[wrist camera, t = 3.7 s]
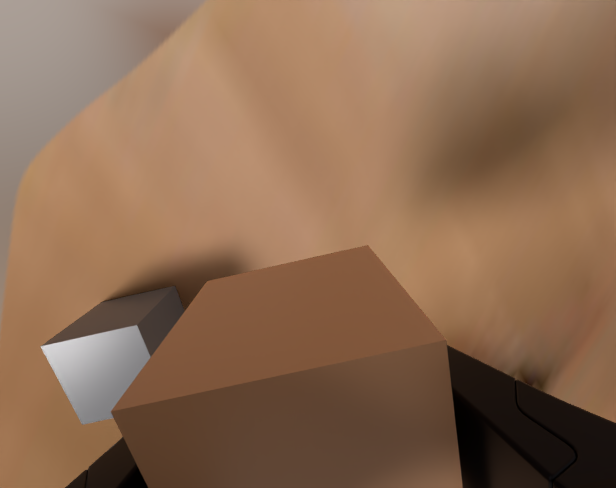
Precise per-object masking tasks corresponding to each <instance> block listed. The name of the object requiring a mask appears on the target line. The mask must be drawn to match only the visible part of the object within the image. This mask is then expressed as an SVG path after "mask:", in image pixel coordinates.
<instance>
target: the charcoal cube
mask: <svg viewBox="0 0 616 488" xmlns="http://www.w3.org/2000/svg"><path fill="white" fill-rule="evenodd" d="M184 312H185V311H184V308H183V306H182V303H181V300H180V298H179V295H178V292H177V290H176V287H175V286H171V287H167V288H162V289H158V290H154V291H149V292H145V293H140V294H136V295H131V296H127V297H122V298H118V299H114V300H109V301H105V302H101V303H100V304H98V305H97V306H96V307H94V308H93V309H91V310H90V311H89V312H87V313H86V314H85V315H83V316H82V317H80V318H79V319H78V320H76V321H75V322H74V323H72V324H71V325H69V326H68V327H67V328H65V329H64V330H63V331H61V332H60V333H58V334H57V335H56V336H54V337H53V338H52V339H50V340H49V341H47V342H46V343H45V344H43V345H42V346H41V348H42V350H43V352H44V354H45V356H46V357H47V359H48V361H49V363H50V365H51V367H52V369H53V371H54V372H55V374H56V376H57V378H58V380H59V382H60V384H61V386H62V387H63V389H64V391H65V393H66V395H67V397H68V399H69V401H70V402H71V404H72V406H73V408H74V410H75V412H76V414H77V416H78V418H79V419H80V421H81V423H82V425H83V424H87V423H92V422H97V421H101V420H106V419H110V418H114V417H113V415H112V413H111V410H112V409H113V408H114V406H115V405H116V404H117V402H118V401H119V400H120V398H121V397H122V395H123V394H124V393H125V391H126V390H127V389H128V387H129V386H130V385H131V383H132V382H133V381H134V379H135V378H136V377H137V375H138V374H139V373H140V371H141V370H142V368H143V367H144V366H145V364H146V363H147V362H148V360H149V359H150V358H151V356H152V355H153V354H154V352H155V351H156V350H157V348H158V347H159V345H160V344H161V343H162V341H163V340H164V339H165V337H166V336H167V335H168V333H169V332H170V331H171V329H172V328H173V327H174V325H175V324H176V323H177V321H178V320H179V318H180V317H181V316H182V314H183V313H184Z"/></svg>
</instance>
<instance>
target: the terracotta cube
mask: <svg viewBox="0 0 616 488" xmlns="http://www.w3.org/2000/svg"><path fill="white" fill-rule="evenodd" d="M111 413H112V415H113V417H114V419H115V421H116V423H117V425H118V428H119V430H120V432H121V434H122V436H123V438H124V440H125V442H126V444H127V446H128V448H129V450H130V452H131V454H132V456H133V458H134V460H135V462H136V464H137V466H138V468H139V470H140V472H141V474H142V476H143V478H144V480H145V482H146V484H147V486H148V488H463V485H462V476H461V467H460V458H459V449H458V440H457V432H456V423H455V414H454V405H453V396H452V387H451V378H450V369H449V360H448V351H447V342H446V339H445V338H444V337H443V335H442V334H441V333H440V332H439V331H438V329H437V328H436V327H435V326H434V325H433V323H432V322H431V321H430V320H429V318H428V317H427V316H426V315H425V314H424V312H423V311H422V310H421V309H420V308H419V306H418V305H417V304H416V303H415V302H414V300H413V299H412V298H411V297H410V296H409V294H408V293H407V292H406V291H405V290H404V288H403V287H402V286H401V285H400V283H399V282H398V281H397V280H396V279H395V277H394V276H393V275H392V274H391V273H390V271H389V270H388V269H387V268H386V267H385V265H384V264H383V263H382V262H381V261H380V259H379V258H378V257H377V256H376V254H375V253H374V252H373V251H372V250H371V248H370V247H369V246H368V245H367V246H362V247H358V248H353V249H349V250H344V251H340V252H335V253H331V254H326V255H322V256H317V257H313V258H308V259H304V260H299V261H295V262H290V263H286V264H281V265H277V266H272V267H268V268H263V269H259V270H254V271H250V272H245V273H241V274H236V275H232V276H227V277H223V278H219V279H214V280H210V281H207V282H206V283H205V285H204V286H203V287H202V289H201V290H200V291H199V293H198V294H197V295H196V297H195V298H194V300H193V301H192V302H191V304H190V305H189V306H188V308H187V309H186V310H185V312H184V313H183V314H182V316H181V317H180V318H179V320H178V321H177V323H176V324H175V325H174V327H173V328H172V329H171V331H170V332H169V333H168V335H167V336H166V337H165V339H164V340H163V341H162V343H161V344H160V345H159V347H158V348H157V350H156V351H155V352H154V354H153V355H152V356H151V358H150V359H149V360H148V362H147V363H146V364H145V366H144V367H143V368H142V370H141V371H140V373H139V374H138V375H137V377H136V378H135V379H134V381H133V382H132V383H131V385H130V386H129V387H128V389H127V390H126V391H125V393H124V394H123V395H122V397H121V398H120V400H119V401H118V402H117V404H116V405H115V406H114V408H113V409H112V410H111Z"/></svg>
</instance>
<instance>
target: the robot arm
mask: <svg viewBox="0 0 616 488" xmlns="http://www.w3.org/2000/svg"><path fill="white" fill-rule="evenodd" d="M447 351H448V360H449V369H450V378H451V387H452V396H453V405H454V414H455V423H456V432H457V440H458V449H459V458H460V467H461V476H462V485H463V488H616V423H615V422H612V421H610V420H607V419H605V418H602V417H600V416H597V415H595V414H593V413H590V412H588V411H586V410H583V409H581V408H579V407H576V406H574V405H571V404H569V403H567V402H564V401H562V400H560V399H558V398H556V397H554V396H551V395H549V394H547V393H545V392H543V391H541V390H538V389H536V388H534V387H532V386H530V385H528V384H526V383H524V382H522V381H520V380H516V381H515V378H513V377H511V376H509V375H507V374H505V373H503V372H501V371H499V370H497V369H495V368H493V367H491V366H489V365H487V364H485V363H483V362H481V361H479V360H477V359H475V358H473V357H471V356H468V355H466V354H464V353H462V352H460V351H458V350H456V349H454V348H452V347H450V346H448V345H447ZM65 488H148V486H147V484H146V482H145V480H144V478H143V476H142V474H141V472H140V470H139V468H138V466H137V464H136V462H135V460H134V458H133V456H132V454H131V452H130V450H129V448H128V446H127V444H126V442H125V440H124V438H123V437H122V438H121V439H120V440H119V441H118V442H117V443H116V444H114V445H113V446H112V447H111V448H110V449H109V450H108V451H107V452H105V453H104V454H103V455H102V456H101V457H100V458H99V459H97V460H96V461H95V462H94V463H93V464H92V465H91V466H89V468H88V470H85V471H84V472H82V473H81V474H80V475H79V476H78V477H77V478H76V479H75V480H73V481H72V482H71V483H70V484H69V485H68V486H67V487H65Z"/></svg>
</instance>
